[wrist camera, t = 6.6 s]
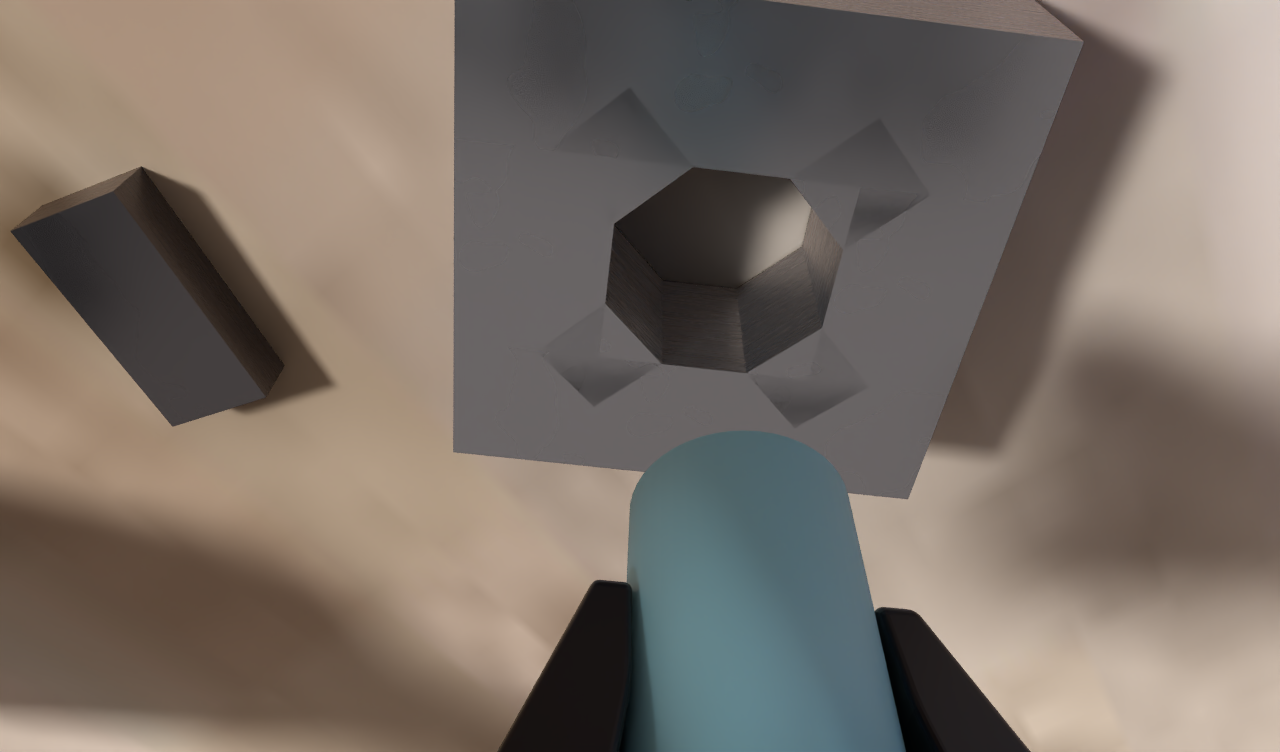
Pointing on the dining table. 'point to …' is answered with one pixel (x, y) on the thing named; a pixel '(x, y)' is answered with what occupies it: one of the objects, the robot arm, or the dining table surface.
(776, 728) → the round bit
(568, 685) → the robot arm
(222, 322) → the charcoal rectangular brick
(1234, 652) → the dining table surface
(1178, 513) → the dining table surface
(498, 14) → the socket block
